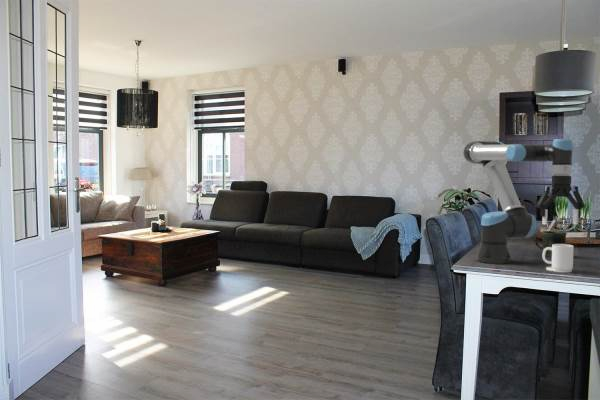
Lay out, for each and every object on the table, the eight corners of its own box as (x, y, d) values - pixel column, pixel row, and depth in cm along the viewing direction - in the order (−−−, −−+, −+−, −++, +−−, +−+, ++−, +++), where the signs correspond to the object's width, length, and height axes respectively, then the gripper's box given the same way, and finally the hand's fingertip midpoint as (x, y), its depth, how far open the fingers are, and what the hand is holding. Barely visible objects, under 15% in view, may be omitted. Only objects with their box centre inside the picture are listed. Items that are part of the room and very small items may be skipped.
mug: (564, 258, 249) (565, 234, 249) (532, 255, 258) (532, 232, 257) (567, 255, 258) (568, 232, 257) (536, 252, 267) (537, 230, 266)
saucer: (553, 272, 216) (554, 270, 216) (541, 268, 226) (541, 266, 226) (576, 272, 217) (576, 270, 217) (563, 267, 227) (563, 265, 227)
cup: (572, 271, 215) (573, 247, 214) (541, 268, 221) (542, 245, 220) (572, 267, 222) (573, 244, 222) (542, 265, 228) (543, 242, 227)
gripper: (537, 175, 214) (536, 225, 216) (595, 175, 216) (593, 224, 217) (528, 175, 222) (527, 223, 223) (584, 174, 223) (582, 222, 225)
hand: (559, 224), depth 220 cm, fingers open, 13 cm apart
